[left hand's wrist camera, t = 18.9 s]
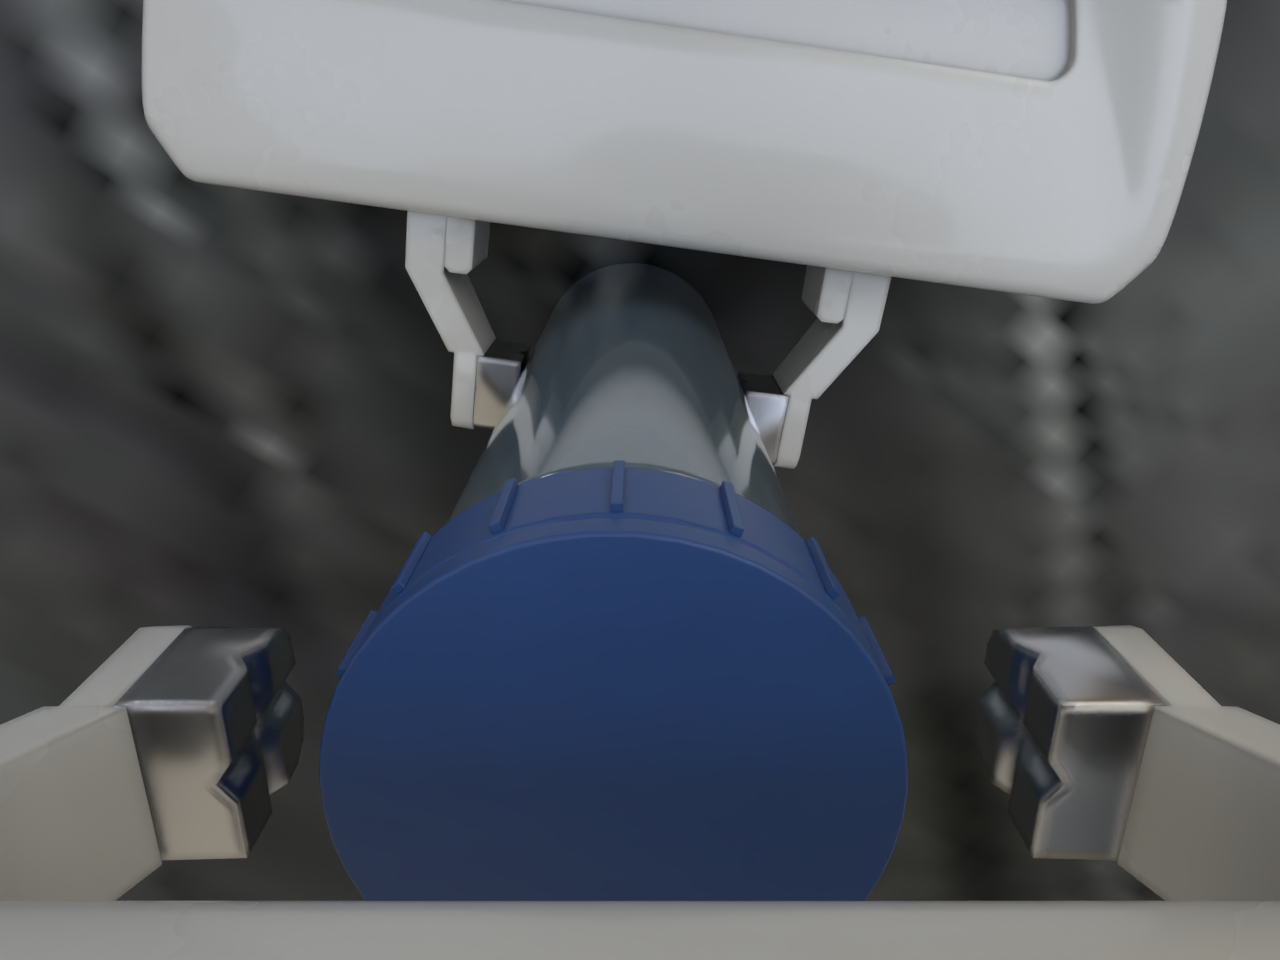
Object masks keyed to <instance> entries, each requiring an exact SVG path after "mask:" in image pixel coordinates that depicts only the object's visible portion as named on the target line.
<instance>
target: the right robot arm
mask: <svg viewBox="0 0 1280 960" xmlns="http://www.w3.org/2000/svg"><path fill="white" fill-rule="evenodd" d="M1226 5H1227V0H143V25H142V100H143V109H144V115H145V118H146V121H147V124H148V126H149V128H150V130H151V131H152V133H153V134H154V135H155V137H156V138H157V140H158V141H159V142H160V144H161V145H162V147H163V148H164V150H165V151H166V152H167V154H168V155H169V157H170V158H171V159H172V161H173V162H174V163H175V165H176V166H177V167H178V168H179V170H180V171H181V172H182V173H183V175H185V176H186V177H187V178H189V179H191V180H193V181H196V182H200V183H207V184H214V185H221V186H228V187H236V188H243V189H250V190H258V191H265V192H272V193H280V194H287V195H294V196H302V197H309V198H317V199H324V200H331V201H339V202H346V203H353V204H361V205H368V206H375V207H383V208H390V209H398V210H405V211H407V234H406V259H405V268H406V270H407V272H408V274H409V276H410V278H411V280H412V282H413V284H414V285H415V287H416V289H417V291H418V293H419V295H420V297H421V299H422V301H423V303H424V305H425V307H426V309H427V311H428V313H429V315H430V317H431V319H432V320H433V322H434V324H435V326H436V328H437V330H438V332H439V334H440V336H441V338H442V340H443V342H444V344H445V346H446V348H447V350H448V351H449V352H454V365H453V382H452V399H451V416H450V417H451V422H452V426H458V427H463V428H469V429H474V428H475V429H483V430H492V431H493V430H494V428H495V426H496V424H497V422H498V420H499V418H500V416H501V414H502V412H503V410H504V408H505V406H506V404H507V402H508V400H509V398H510V396H511V394H512V392H513V390H514V388H515V386H516V384H517V382H518V380H519V378H520V376H521V374H522V372H523V370H524V368H525V366H526V364H527V362H528V360H529V351H530V345H527V344H520V343H514V342H507V341H501V340H495V339H496V337H495V335H494V332H493V330H492V328H491V326H490V323H489V321H488V319H487V317H486V314H485V312H484V310H483V308H482V306H481V303H480V301H479V299H478V297H477V294H476V292H475V290H474V288H473V286H472V283H471V281H470V279H469V277H468V274H467V273H469V272H470V271H471V270H472V269H474V268H475V267H476V266H477V265H479V264H480V263H481V262H482V261H484V260H485V259H486V258H487V257H488V245H489V233H490V222H493V223H501V224H508V225H515V226H523V227H530V228H537V229H545V230H552V231H560V232H567V233H574V234H582V235H589V236H596V237H604V238H611V239H618V240H626V241H633V242H641V243H648V244H655V245H663V246H670V247H677V248H685V249H692V250H699V251H707V252H714V253H722V254H729V255H736V256H744V257H751V258H758V259H766V260H773V261H780V262H788V263H795V264H803V265H807V268H806V273H805V279H804V285H803V290H802V296H801V300H802V302H803V303H804V305H805V306H806V307H807V308H808V309H809V310H810V311H811V312H812V313H813V314H814V315H815V316H816V317H817V319H816V320H815V321H814V323H813V324H812V325H811V326H810V328H809V329H808V330H807V331H806V332H805V334H804V335H803V336H802V337H801V339H800V340H799V341H798V342H797V344H796V345H795V346H794V347H793V349H792V350H791V351H790V352H789V354H788V355H787V356H786V357H785V359H784V360H783V361H782V362H781V363H780V365H779V366H778V367H777V368H776V370H775V371H774V372H773V376H771V375H761V374H752V373H742V372H739V373H738V379H739V382H740V384H741V387H742V389H743V392H744V394H745V397H746V399H747V402H748V404H749V407H750V409H751V412H752V414H753V417H754V419H755V422H756V424H757V427H758V429H759V432H760V434H761V437H762V439H763V442H764V444H765V447H766V449H767V452H768V454H769V457H770V459H771V462H772V464H773V466H774V467H782V468H790V469H794V468H795V467H796V466H797V463H798V460H799V458H800V453H801V448H802V444H803V439H804V434H805V429H806V424H807V419H808V415H809V410H810V405H811V400H812V399H818V398H819V397H820V396H821V395H822V393H823V392H824V391H825V390H826V389H827V388H828V387H829V386H830V385H831V384H832V382H833V381H834V380H835V379H836V378H837V377H838V376H839V375H840V374H841V372H842V371H843V370H844V369H845V368H846V367H847V366H848V365H849V364H850V362H851V361H852V360H853V359H854V358H855V357H856V356H857V355H858V354H859V353H860V351H861V350H862V349H863V348H864V347H865V346H866V345H867V344H868V343H869V341H870V340H871V339H872V338H873V337H874V336H875V335H876V334H877V333H878V331H879V329H880V324H881V320H882V316H883V311H884V307H885V303H886V298H887V294H888V290H889V285H890V281H891V277H898V278H906V279H913V280H920V281H928V282H935V283H942V284H950V285H957V286H965V287H972V288H979V289H987V290H994V291H1001V292H1009V293H1016V294H1023V295H1031V296H1038V297H1046V298H1053V299H1061V300H1068V301H1076V302H1083V303H1091V304H1096V303H1102V302H1105V301H1107V300H1109V299H1110V298H1111V297H1113V296H1114V295H1115V294H1117V293H1118V292H1119V291H1121V290H1122V289H1123V288H1124V287H1125V286H1126V285H1128V284H1129V283H1130V282H1131V281H1132V280H1133V279H1134V278H1136V277H1137V276H1138V275H1139V274H1140V273H1141V272H1142V271H1143V270H1145V269H1146V268H1147V267H1148V266H1149V265H1150V264H1151V263H1152V262H1153V261H1154V260H1155V258H1156V257H1157V255H1158V254H1159V252H1160V250H1161V248H1162V246H1163V244H1164V242H1165V240H1166V238H1167V235H1168V232H1169V229H1170V227H1171V224H1172V221H1173V218H1174V215H1175V212H1176V210H1177V206H1178V203H1179V200H1180V197H1181V194H1182V190H1183V187H1184V184H1185V180H1186V177H1187V174H1188V170H1189V167H1190V164H1191V160H1192V157H1193V153H1194V149H1195V146H1196V142H1197V138H1198V134H1199V131H1200V127H1201V123H1202V119H1203V115H1204V111H1205V107H1206V102H1207V98H1208V94H1209V90H1210V86H1211V81H1212V77H1213V72H1214V68H1215V63H1216V58H1217V54H1218V49H1219V44H1220V40H1221V34H1222V29H1223V23H1224V18H1225V13H1226Z"/></svg>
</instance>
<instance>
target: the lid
mask: <svg viewBox="0 0 1280 960" xmlns="http://www.w3.org/2000/svg"><path fill="white" fill-rule="evenodd" d="M336 677H339V678H341V679H340V681H339V683H338V685H337V687H336V690H335V693H334V696H333V698H332V701H331V704H330V707H329V709H328V712H327V715H326V719H325V724H324V729H323V735H322V740H321V745H320V767H319V782H320V789H321V797H322V804H323V812H324V816H325V819H326V823H327V826H328V829H329V833H330V836H331V839H332V843H333V845H334V847H335V849H336V851H337V853H338V856H339V858H340V860H341V862H342V864H343V866H344V868H345V871H346V872H347V874H348V875H349V877H350V879H351V880H352V882H353V883H354V885H355V886H356V888H357V889H358V891H359V892H360V894H361V895H362V897H363V898H364V900H365V901H865V900H866V899H867V897H868V896H869V894H870V893H871V891H872V890H873V888H874V887H875V885H876V884H877V882H878V881H879V879H880V878H881V876H882V874H883V872H884V869H885V867H886V865H887V863H888V861H889V859H890V857H891V855H892V853H893V851H894V848H895V845H896V842H897V838H898V835H899V832H900V829H901V825H902V822H903V819H904V812H905V805H906V798H907V791H908V754H907V748H906V743H905V737H904V731H903V726H902V721H901V719H900V716H899V713H898V710H897V707H896V704H895V702H894V699H893V696H892V693H891V690H890V688H889V686H888V685H890V684H894V683H895V680H894V678H893V675H892V673H891V670H890V668H889V666H888V664H887V662H886V660H885V658H884V655H883V653H882V651H881V649H880V647H879V645H878V643H877V640H876V638H875V636H874V634H873V632H872V630H871V628H870V625H869V623H868V621H867V619H866V617H865V616H863V617H860V618H858V617H857V615H856V613H855V611H854V608H853V606H852V605H851V603H850V601H849V599H848V597H847V595H846V593H845V592H844V590H843V588H842V586H841V584H840V582H839V581H838V579H837V578H836V577H835V575H834V574H833V573H832V571H831V570H830V568H829V566H828V564H827V562H826V559H825V557H824V555H823V552H822V550H821V548H820V545H819V543H818V542H817V541H816V540H815V539H814V538H813V537H811V538H809V539H808V540H807V541H805V540H804V539H803V538H802V537H801V536H800V535H799V534H798V533H797V532H795V531H794V530H793V529H791V528H790V527H789V526H787V525H786V524H785V523H783V522H782V521H781V520H780V519H778V518H777V517H776V516H774V515H773V514H772V513H770V512H768V511H767V510H765V509H763V508H761V507H760V506H758V505H756V504H754V503H753V502H751V501H749V500H747V499H746V498H744V497H742V496H740V495H738V494H735V491H734V488H733V484H731V483H729V482H726V481H723V482H722V484H721V486H720V487H718V486H716V485H713V484H711V483H708V482H705V481H701V480H697V479H693V478H690V477H686V476H682V475H678V474H675V473H668V472H661V471H654V470H647V469H639V468H625V461H624V460H614V465H613V468H595V469H586V470H577V471H567V472H562V473H558V474H554V475H550V476H545V477H541V478H537V479H533V480H529V481H527V482H524V483H521V484H519V485H518V483H517V481H516V479H515V478H512V479H510V480H507V481H505V484H504V486H503V489H502V491H500V492H498V493H496V494H494V495H492V496H490V497H488V498H486V499H485V500H483V501H481V502H479V503H477V504H475V505H473V506H471V507H470V508H468V509H466V510H465V511H463V512H462V513H461V514H459V515H458V516H457V517H455V518H454V519H452V520H451V521H450V522H448V523H447V524H446V525H444V526H443V527H441V528H440V529H439V530H438V531H437V532H436V533H435V534H434V535H433V536H432V537H431V536H430V535H429V534H428V533H427V532H424V533H423V534H422V535H421V536H420V537H419V538H418V540H417V542H416V544H415V546H414V547H413V549H412V551H411V553H410V555H409V557H408V558H407V560H406V562H405V564H404V566H403V567H402V569H401V571H400V573H399V575H398V576H397V578H396V580H395V582H394V583H393V585H392V587H391V589H390V590H389V592H388V594H387V596H386V598H385V599H384V601H383V603H382V605H381V607H380V608H379V610H378V612H376V611H373V610H371V611H370V613H369V615H368V616H367V618H366V620H365V622H364V623H363V625H362V627H361V629H360V630H359V632H358V634H357V636H356V637H355V639H354V641H353V643H352V644H351V646H350V648H349V650H348V652H347V653H346V655H345V657H344V659H343V660H342V662H341V664H340V666H339V667H338V670H337V673H336Z"/></svg>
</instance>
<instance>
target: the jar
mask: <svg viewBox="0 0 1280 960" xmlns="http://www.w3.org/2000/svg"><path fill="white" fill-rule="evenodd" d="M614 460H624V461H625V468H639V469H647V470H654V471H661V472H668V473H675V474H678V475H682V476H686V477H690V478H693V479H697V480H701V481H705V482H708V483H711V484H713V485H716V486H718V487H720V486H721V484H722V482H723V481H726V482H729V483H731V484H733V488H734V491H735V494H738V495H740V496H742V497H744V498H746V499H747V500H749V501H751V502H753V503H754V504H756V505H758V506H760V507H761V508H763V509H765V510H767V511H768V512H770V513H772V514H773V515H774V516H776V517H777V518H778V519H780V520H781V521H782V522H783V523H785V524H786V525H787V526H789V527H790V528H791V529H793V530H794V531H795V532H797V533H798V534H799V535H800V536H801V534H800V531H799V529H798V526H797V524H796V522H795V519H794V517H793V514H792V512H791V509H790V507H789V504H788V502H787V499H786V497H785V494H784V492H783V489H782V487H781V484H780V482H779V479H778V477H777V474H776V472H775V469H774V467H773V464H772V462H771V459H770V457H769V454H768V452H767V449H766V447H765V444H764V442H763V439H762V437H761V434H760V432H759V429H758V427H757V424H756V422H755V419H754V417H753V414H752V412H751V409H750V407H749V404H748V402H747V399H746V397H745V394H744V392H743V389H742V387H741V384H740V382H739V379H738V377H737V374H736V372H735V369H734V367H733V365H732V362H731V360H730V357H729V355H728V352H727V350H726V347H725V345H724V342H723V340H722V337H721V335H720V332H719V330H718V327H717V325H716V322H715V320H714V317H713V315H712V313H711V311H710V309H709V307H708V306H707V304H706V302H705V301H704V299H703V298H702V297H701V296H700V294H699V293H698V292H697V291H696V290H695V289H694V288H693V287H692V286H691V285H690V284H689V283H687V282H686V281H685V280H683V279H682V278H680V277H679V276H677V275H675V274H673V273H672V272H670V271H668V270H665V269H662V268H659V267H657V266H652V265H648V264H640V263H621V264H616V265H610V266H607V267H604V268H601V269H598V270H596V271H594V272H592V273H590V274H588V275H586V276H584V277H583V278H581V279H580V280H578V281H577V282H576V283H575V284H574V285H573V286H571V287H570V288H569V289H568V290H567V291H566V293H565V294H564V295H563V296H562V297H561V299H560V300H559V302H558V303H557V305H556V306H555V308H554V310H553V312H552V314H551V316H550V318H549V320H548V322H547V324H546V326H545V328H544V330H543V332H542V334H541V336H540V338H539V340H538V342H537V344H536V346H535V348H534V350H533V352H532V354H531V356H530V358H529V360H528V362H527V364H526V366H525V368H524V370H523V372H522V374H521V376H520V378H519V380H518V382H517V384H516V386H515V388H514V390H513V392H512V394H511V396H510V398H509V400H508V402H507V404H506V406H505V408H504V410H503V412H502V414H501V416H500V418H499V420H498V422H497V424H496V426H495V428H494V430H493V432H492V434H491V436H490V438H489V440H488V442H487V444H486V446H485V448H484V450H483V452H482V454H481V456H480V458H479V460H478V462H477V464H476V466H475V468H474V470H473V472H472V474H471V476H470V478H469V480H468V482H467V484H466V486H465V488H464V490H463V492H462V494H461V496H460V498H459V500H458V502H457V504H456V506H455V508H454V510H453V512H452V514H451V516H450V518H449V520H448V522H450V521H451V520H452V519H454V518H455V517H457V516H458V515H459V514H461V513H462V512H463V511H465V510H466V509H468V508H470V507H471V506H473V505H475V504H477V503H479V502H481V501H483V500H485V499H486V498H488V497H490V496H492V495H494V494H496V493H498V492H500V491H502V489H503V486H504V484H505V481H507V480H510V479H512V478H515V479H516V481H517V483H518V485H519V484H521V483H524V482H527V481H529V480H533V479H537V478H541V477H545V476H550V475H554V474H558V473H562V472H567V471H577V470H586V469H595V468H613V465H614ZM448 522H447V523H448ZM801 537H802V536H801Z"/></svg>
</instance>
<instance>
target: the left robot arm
mask: <svg viewBox="0 0 1280 960" xmlns="http://www.w3.org/2000/svg"><path fill="white" fill-rule="evenodd" d="M294 665H295V658H294V653H293V648H292V643H291V637H290V636H289V635H288V634H287V632H286V631H285V630H284V629H283V628H259V627H206V626H195V627H191V626H189V625H183V626H150V627H143V628H139V629H138V630H137V631H136V632H135V633H134V634H133V635H132V636H131V637H130V638H129V639H128V640H126V641H125V642H124V643H123V644H122V645H121V646H120V647H119V648H118V649H117V650H116V651H115V652H114V653H113V654H112V655H111V656H110V657H109V658H108V659H107V660H106V661H105V662H104V663H103V664H102V665H101V666H100V667H99V668H98V669H97V670H96V671H94V672H93V673H92V674H91V675H90V676H89V677H88V678H87V679H86V680H85V681H84V682H83V683H82V684H81V685H80V686H79V687H78V688H77V689H76V690H75V691H74V692H73V693H72V694H71V695H70V696H69V697H68V698H67V699H66V700H65V701H64V702H62V703H61V704H60V705H59V706H48V707H41V708H39V709H36V710H34V711H31V712H29V713H27V714H24V715H22V716H20V717H17V718H15V719H13V720H10V721H8V722H6V723H3V724H1V725H0V960H1280V725H1279V724H1277V723H1274V722H1272V721H1270V720H1267V719H1265V718H1263V717H1260V716H1258V715H1256V714H1253V713H1251V712H1248V711H1246V710H1244V709H1241V708H1239V707H1233V706H1221V705H1220V704H1219V703H1218V702H1217V701H1216V700H1214V699H1213V698H1212V697H1211V696H1210V695H1209V694H1208V693H1207V692H1206V691H1205V690H1204V689H1203V688H1202V687H1201V686H1200V685H1199V684H1198V683H1197V682H1196V681H1195V680H1194V679H1193V678H1192V677H1191V676H1190V675H1189V674H1188V673H1187V672H1186V671H1185V670H1184V669H1183V668H1182V667H1181V666H1180V665H1178V664H1177V663H1176V662H1175V661H1174V660H1173V659H1172V658H1171V657H1170V656H1169V655H1168V654H1167V653H1166V652H1165V651H1164V650H1163V649H1162V648H1161V647H1160V646H1159V645H1158V644H1157V643H1156V642H1155V641H1154V640H1153V639H1152V638H1151V637H1150V636H1149V635H1148V634H1147V633H1146V632H1145V631H1144V630H1142V629H1140V628H1137V627H1134V626H1131V625H1122V626H1098V627H1092V626H1085V627H1044V628H1004V629H997V630H994V631H993V633H992V635H991V637H990V640H989V642H988V646H987V651H986V657H985V665H986V667H987V668H988V670H989V671H990V673H991V674H992V676H993V678H994V679H995V682H994V683H993V684H992V685H991V686H990V687H989V688H988V689H987V690H986V691H985V692H984V694H983V695H982V696H981V697H980V698H979V704H978V712H977V721H976V729H977V740H978V750H979V753H980V756H981V760H982V763H983V766H984V768H985V770H986V772H987V774H988V776H989V778H990V780H991V782H992V783H993V784H994V785H996V786H997V787H999V788H1001V789H1002V790H1004V791H1005V792H1007V793H1008V794H1010V801H1009V807H1008V813H1009V815H1010V817H1011V819H1012V821H1013V822H1014V824H1015V826H1016V828H1017V830H1018V831H1019V833H1020V835H1021V837H1022V839H1023V840H1024V842H1025V844H1026V846H1027V848H1028V849H1029V851H1030V853H1031V855H1032V857H1033V858H1055V859H1092V860H1118V863H1117V864H1118V865H1120V866H1121V867H1122V868H1123V869H1125V870H1126V871H1127V872H1129V873H1130V874H1131V875H1133V876H1134V877H1135V878H1136V879H1138V880H1139V881H1140V882H1142V883H1143V884H1144V885H1145V886H1147V887H1148V888H1149V889H1151V890H1152V891H1153V892H1155V893H1156V894H1157V895H1158V896H1160V897H1161V898H1162V899H1164V900H1165V901H115V900H117V899H118V898H119V897H121V896H122V895H123V894H124V893H126V892H127V891H128V890H130V889H131V888H132V887H134V886H135V885H136V884H137V883H139V882H140V881H141V880H143V879H144V878H145V877H147V876H148V875H149V874H150V873H152V872H153V871H154V870H156V869H157V868H158V867H160V866H161V865H162V860H187V859H222V858H247V857H248V855H249V853H250V851H251V850H252V848H253V846H254V844H255V842H256V840H257V839H258V837H259V835H260V833H261V831H262V830H263V828H264V826H265V824H266V822H267V821H268V819H269V817H270V815H271V813H272V807H271V801H270V794H272V793H273V792H275V791H276V790H278V789H279V788H281V787H283V786H284V785H286V784H287V783H288V782H289V780H290V778H291V776H292V774H293V772H294V770H295V768H296V766H297V764H298V760H299V755H300V751H301V747H302V742H303V721H304V717H303V710H302V703H301V698H300V697H299V696H298V695H297V694H296V692H295V691H294V690H293V689H292V688H291V687H290V686H289V685H288V684H287V683H286V682H285V679H286V678H287V676H288V674H289V673H290V671H291V670H292V668H293V667H294Z"/></svg>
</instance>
